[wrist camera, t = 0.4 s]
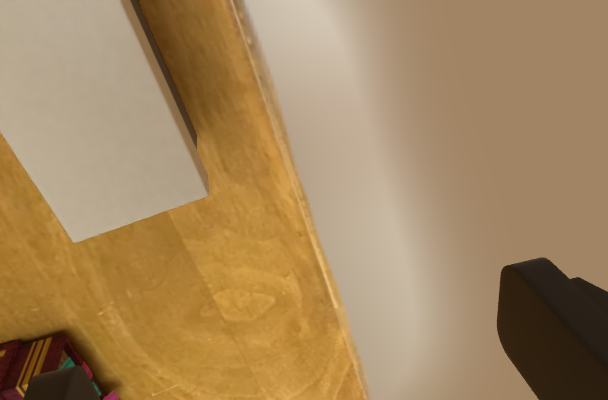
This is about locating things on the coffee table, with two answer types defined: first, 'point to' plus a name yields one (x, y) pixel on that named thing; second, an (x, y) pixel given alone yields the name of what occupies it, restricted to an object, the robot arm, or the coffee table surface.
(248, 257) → the coffee table surface
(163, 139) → the thin cream book
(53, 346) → the decorative book
